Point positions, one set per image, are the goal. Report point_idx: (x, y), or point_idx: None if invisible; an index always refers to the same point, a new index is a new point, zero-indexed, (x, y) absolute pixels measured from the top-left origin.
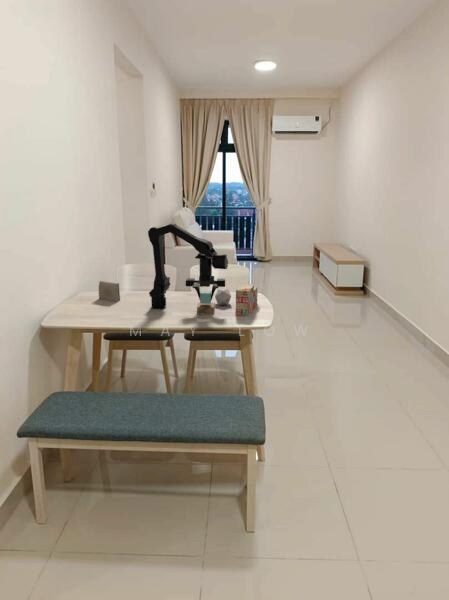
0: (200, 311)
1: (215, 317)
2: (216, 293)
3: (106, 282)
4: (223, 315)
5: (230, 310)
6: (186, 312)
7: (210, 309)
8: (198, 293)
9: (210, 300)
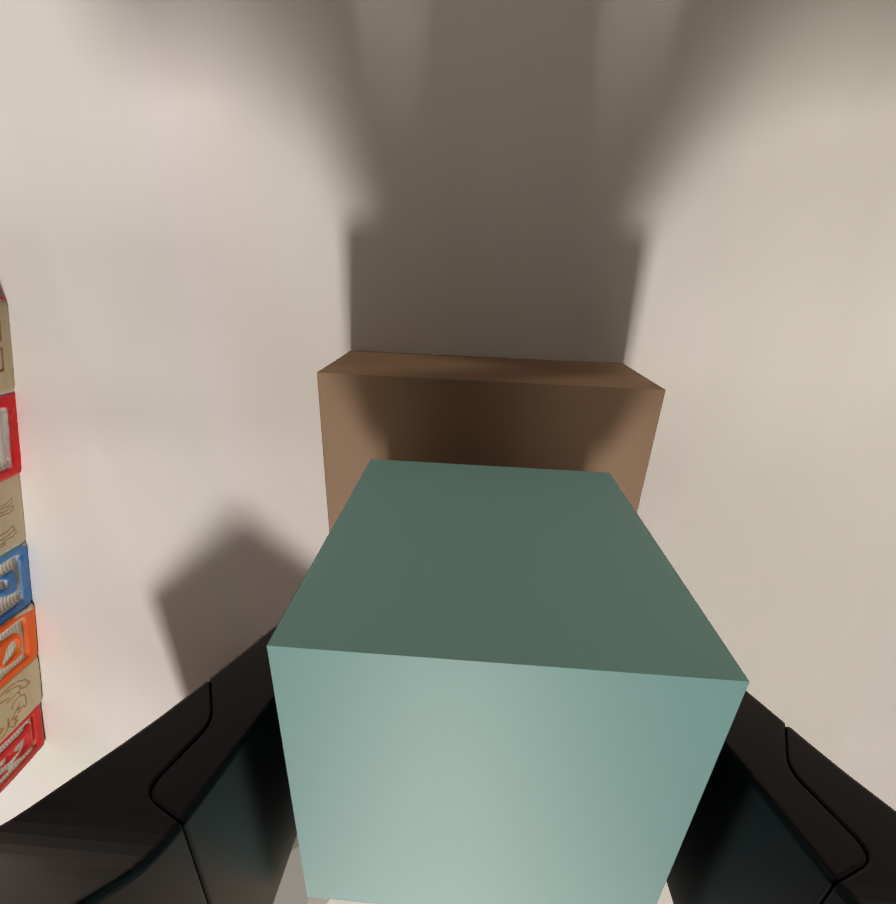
0: (573, 367)
1: (299, 110)
2: (304, 892)
3: None
4: (181, 249)
5: (138, 504)
6: (787, 424)
7: (391, 368)
8: (765, 733)
9: (356, 493)
